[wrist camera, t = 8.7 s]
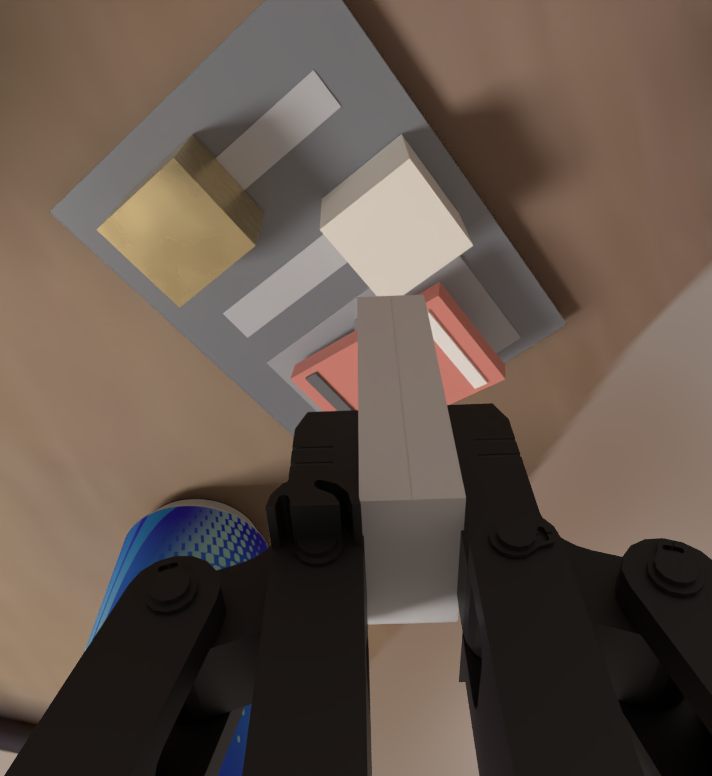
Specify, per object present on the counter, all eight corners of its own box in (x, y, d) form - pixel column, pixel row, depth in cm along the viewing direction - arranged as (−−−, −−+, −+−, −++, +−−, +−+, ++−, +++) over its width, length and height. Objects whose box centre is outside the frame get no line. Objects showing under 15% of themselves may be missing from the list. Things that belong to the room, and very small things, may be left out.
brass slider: (123, 198, 26) (96, 229, 23) (193, 133, 25) (173, 157, 22) (195, 270, 28) (179, 307, 25) (264, 213, 27) (255, 245, 24)
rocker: (295, 364, 30) (289, 381, 29) (439, 281, 26) (438, 297, 25) (361, 431, 32) (358, 448, 32) (504, 364, 28) (505, 381, 28)
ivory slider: (321, 198, 26) (319, 229, 24) (401, 134, 25) (409, 158, 22) (381, 270, 28) (386, 307, 25) (459, 213, 27) (473, 245, 24)
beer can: (108, 558, 39) (-9, 866, 26) (163, 467, 36) (59, 775, 22) (234, 603, 42) (186, 905, 29) (298, 523, 38) (277, 829, 25)
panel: (58, 204, 27) (37, 222, 26) (312, -45, 23) (309, -45, 21) (331, 459, 36) (331, 486, 34) (560, 313, 31) (574, 336, 29)
